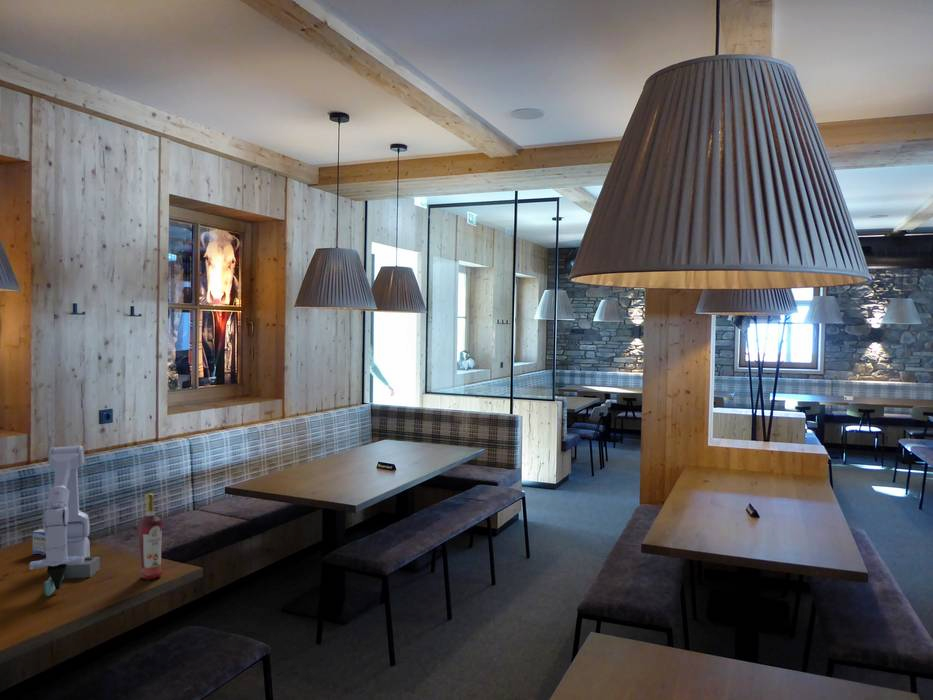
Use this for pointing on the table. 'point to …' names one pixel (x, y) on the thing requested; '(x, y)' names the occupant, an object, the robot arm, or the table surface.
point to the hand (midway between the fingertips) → (57, 588)
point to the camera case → (83, 568)
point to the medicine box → (39, 542)
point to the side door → (50, 586)
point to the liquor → (150, 541)
